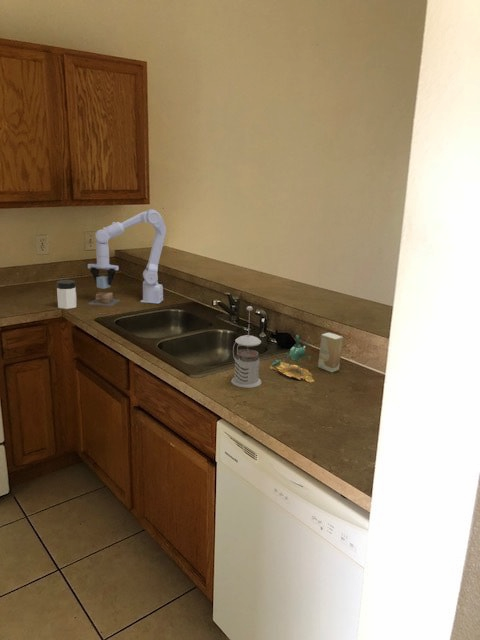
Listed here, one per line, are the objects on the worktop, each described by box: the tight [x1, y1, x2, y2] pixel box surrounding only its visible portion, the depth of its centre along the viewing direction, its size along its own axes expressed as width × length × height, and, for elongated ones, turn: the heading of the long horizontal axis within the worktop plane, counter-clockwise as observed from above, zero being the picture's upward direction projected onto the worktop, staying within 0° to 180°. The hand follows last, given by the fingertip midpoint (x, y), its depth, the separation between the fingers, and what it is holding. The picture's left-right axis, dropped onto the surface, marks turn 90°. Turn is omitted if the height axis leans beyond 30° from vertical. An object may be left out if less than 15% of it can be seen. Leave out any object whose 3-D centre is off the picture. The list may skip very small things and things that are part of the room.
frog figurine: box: [269, 334, 315, 383], centre depth 174 cm, size 10×18×15 cm, turn 41°
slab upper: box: [95, 291, 114, 300], centre depth 251 cm, size 6×6×2 cm
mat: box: [87, 298, 121, 307], centre depth 252 cm, size 12×12×1 cm
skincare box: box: [317, 332, 344, 373], centre depth 180 cm, size 6×4×12 cm
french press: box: [230, 305, 262, 389], centre depth 165 cm, size 10×12×25 cm
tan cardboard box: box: [95, 296, 114, 304], centre depth 252 cm, size 6×6×2 cm
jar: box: [56, 279, 77, 310], centre depth 241 cm, size 9×8×12 cm
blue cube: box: [96, 275, 112, 290], centre depth 249 cm, size 4×4×5 cm
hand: (103, 284), depth 250 cm, fingers closed on blue cube, 6 cm apart
